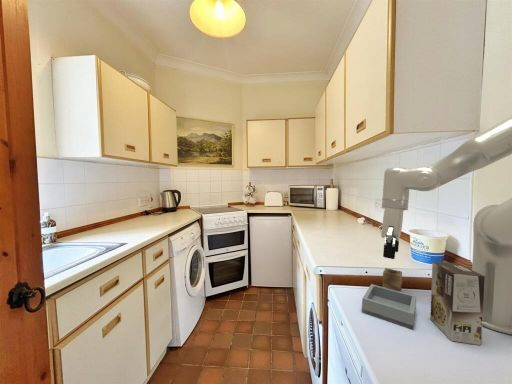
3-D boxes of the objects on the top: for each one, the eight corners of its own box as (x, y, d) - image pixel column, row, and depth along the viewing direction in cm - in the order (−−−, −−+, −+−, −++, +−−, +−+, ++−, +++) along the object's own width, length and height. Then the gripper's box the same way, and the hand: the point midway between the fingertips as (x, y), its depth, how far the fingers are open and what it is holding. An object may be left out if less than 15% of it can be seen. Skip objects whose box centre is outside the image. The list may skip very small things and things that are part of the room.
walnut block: (401, 291, 77) (402, 271, 77) (399, 297, 73) (400, 275, 73) (384, 287, 80) (385, 267, 80) (382, 292, 76) (383, 271, 76)
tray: (415, 309, 66) (416, 295, 66) (413, 329, 56) (413, 314, 56) (370, 296, 73) (371, 284, 73) (361, 312, 64) (362, 298, 64)
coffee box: (482, 346, 51) (487, 276, 51) (450, 341, 52) (454, 273, 52) (456, 322, 60) (459, 262, 60) (428, 318, 61) (431, 260, 61)
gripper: (386, 202, 85) (382, 246, 86) (377, 205, 71) (373, 258, 72) (410, 204, 80) (406, 251, 81) (405, 207, 66) (401, 264, 67)
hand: (390, 254), depth 77 cm, fingers open, 9 cm apart
